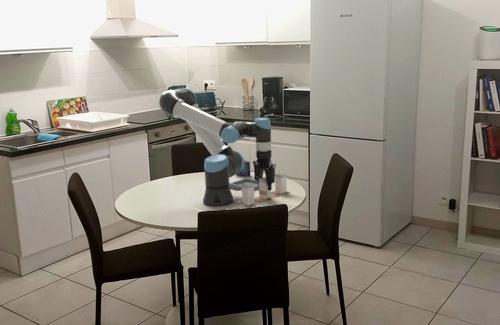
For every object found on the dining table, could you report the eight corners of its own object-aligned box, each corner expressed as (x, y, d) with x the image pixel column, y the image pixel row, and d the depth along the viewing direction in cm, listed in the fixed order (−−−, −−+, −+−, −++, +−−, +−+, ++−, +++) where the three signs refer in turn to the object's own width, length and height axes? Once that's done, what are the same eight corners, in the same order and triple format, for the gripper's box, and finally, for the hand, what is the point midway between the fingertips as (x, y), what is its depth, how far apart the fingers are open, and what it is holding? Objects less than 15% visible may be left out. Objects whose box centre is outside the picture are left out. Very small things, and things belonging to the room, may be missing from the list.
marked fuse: (265, 199, 251) (264, 179, 249) (259, 197, 254) (258, 178, 251) (270, 197, 254) (270, 178, 251) (264, 195, 257) (264, 176, 254)
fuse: (248, 205, 243) (247, 185, 240) (242, 203, 246) (241, 184, 243) (254, 203, 246) (253, 183, 243) (248, 201, 248) (247, 182, 246)
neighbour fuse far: (281, 193, 259) (281, 175, 257) (275, 192, 262) (274, 173, 260) (286, 192, 262) (286, 173, 260) (280, 190, 265) (280, 172, 263)
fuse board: (250, 208, 241) (249, 206, 241) (238, 205, 246) (238, 203, 246) (290, 193, 261) (290, 192, 261) (279, 191, 267) (279, 189, 267)
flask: (235, 175, 301) (234, 158, 299) (237, 174, 304) (236, 157, 302) (249, 176, 298) (248, 159, 295) (251, 175, 300) (250, 158, 298)
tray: (249, 192, 266) (249, 188, 265) (228, 187, 277) (228, 183, 276) (267, 186, 275) (267, 182, 275) (246, 182, 286) (246, 177, 286)
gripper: (281, 150, 245) (282, 196, 250) (256, 146, 257) (257, 190, 262) (271, 153, 240) (272, 200, 245) (245, 148, 251) (247, 194, 257)
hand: (265, 195), depth 254 cm, fingers closed on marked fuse, 4 cm apart
